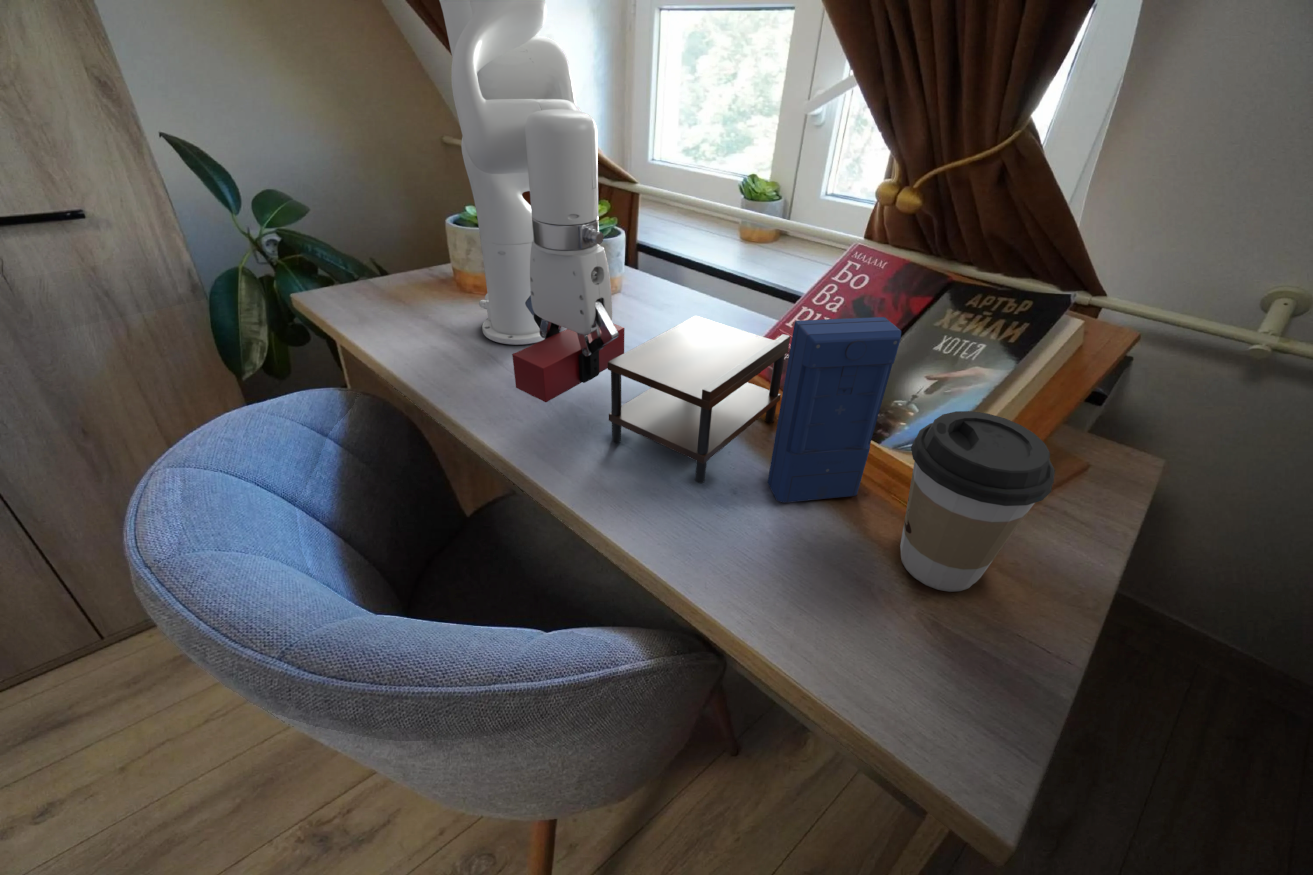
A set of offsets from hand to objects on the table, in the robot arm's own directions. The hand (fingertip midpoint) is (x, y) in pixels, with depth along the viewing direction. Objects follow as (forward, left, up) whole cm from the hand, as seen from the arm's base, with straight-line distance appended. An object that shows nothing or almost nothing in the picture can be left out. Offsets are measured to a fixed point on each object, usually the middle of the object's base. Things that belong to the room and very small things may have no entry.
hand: (572, 369), depth 80 cm
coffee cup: (+49, +1, -5) cm, 49 cm away
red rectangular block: (0, 0, 0) cm, 0 cm away
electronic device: (+34, +4, -5) cm, 34 cm away
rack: (+17, +5, -5) cm, 18 cm away
